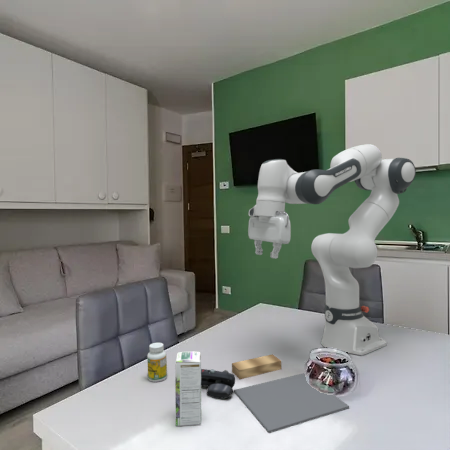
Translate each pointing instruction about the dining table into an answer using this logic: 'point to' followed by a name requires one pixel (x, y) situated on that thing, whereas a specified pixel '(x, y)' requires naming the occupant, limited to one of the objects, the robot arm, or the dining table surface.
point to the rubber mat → (287, 402)
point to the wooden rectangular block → (256, 366)
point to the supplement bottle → (157, 363)
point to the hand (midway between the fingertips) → (266, 256)
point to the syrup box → (188, 388)
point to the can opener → (218, 382)
